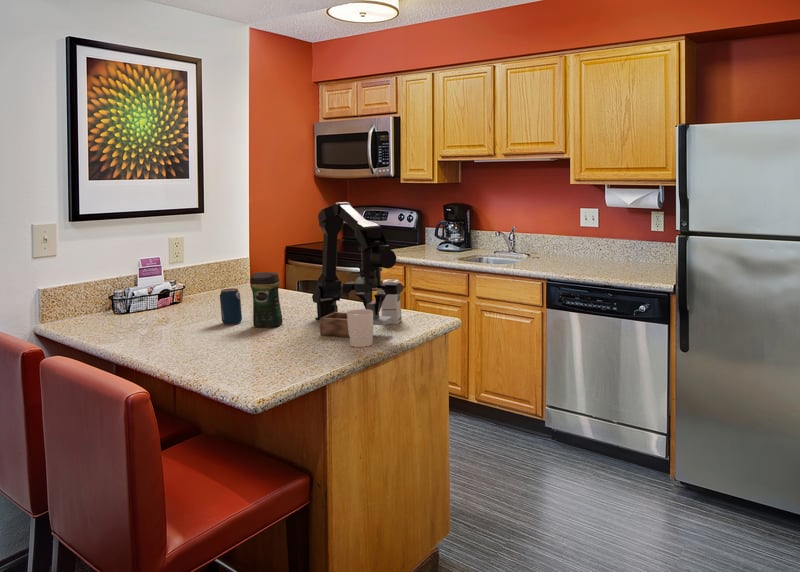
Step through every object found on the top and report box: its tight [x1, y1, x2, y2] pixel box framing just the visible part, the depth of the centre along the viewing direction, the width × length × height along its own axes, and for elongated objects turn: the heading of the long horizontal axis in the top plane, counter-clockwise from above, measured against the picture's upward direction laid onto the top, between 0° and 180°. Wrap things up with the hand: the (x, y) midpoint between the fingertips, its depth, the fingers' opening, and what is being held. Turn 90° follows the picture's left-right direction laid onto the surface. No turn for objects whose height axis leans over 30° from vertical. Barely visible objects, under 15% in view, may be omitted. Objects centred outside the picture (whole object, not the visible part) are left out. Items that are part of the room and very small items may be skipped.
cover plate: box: [366, 300, 392, 326], centre depth 192 cm, size 10×7×6 cm
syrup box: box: [380, 278, 402, 325], centre depth 209 cm, size 6×6×14 cm
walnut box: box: [319, 311, 349, 338], centre depth 197 cm, size 12×10×6 cm
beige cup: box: [346, 308, 374, 348], centre depth 182 cm, size 8×8×10 cm
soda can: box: [219, 287, 243, 326], centre depth 216 cm, size 7×7×12 cm
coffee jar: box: [249, 271, 283, 328], centre depth 210 cm, size 10×8×19 cm
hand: (373, 314), depth 192 cm, fingers closed on cover plate, 2 cm apart
